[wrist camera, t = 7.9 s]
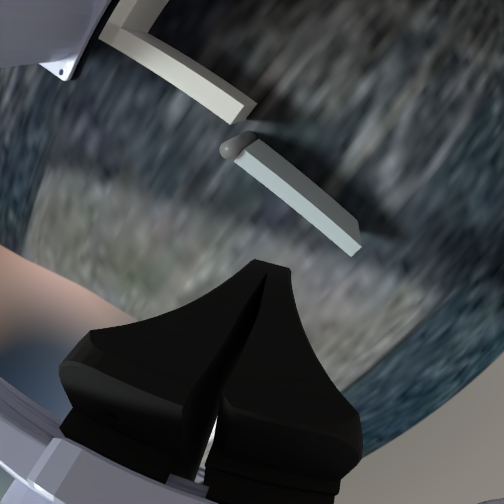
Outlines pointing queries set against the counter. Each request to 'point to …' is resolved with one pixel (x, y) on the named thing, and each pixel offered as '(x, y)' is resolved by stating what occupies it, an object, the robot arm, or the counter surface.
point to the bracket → (171, 60)
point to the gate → (294, 189)
